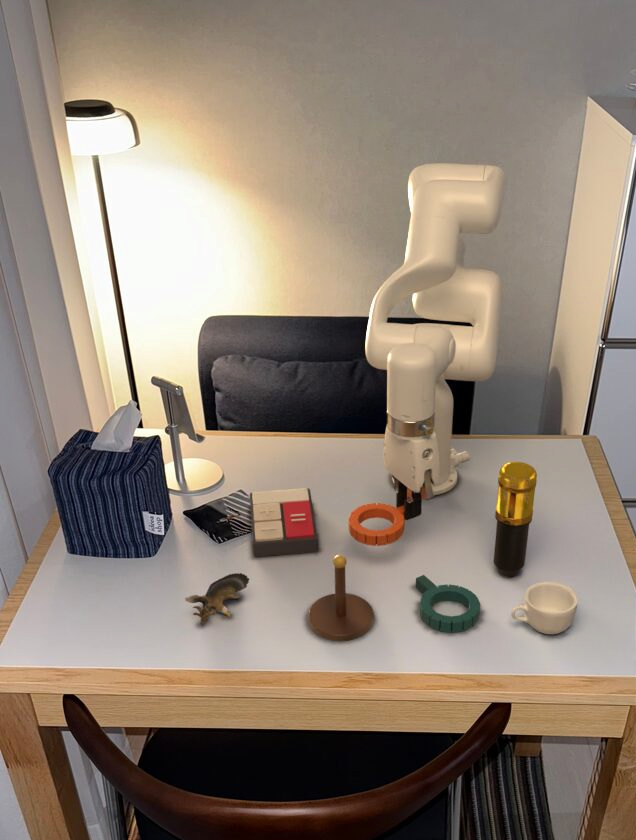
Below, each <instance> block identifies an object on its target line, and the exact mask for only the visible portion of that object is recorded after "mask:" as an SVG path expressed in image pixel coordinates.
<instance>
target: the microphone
mask: <svg viewBox="0 0 636 840" xmlns="http://www.w3.org/2000/svg"><path fill="white" fill-rule="evenodd" d="M537 478H538V473H537V470H536V469H535V468H534V466H532V465H531V464H528V463H526V462H521V461H511V462H508V463H505V464H503V465H502V466H501V467H500V469H499V474H498V481H497V483H498V488H497V489H498V490H497V499H496V506H495V514H494V518H495V520H496V529H495V539H494V550H493V551H494V552H493V564H494V567H496V570H497V571H498V573H499V574H500V576H503V577H505V578H513V577H515V576H516V575H518V573H519V572H520V571H522V569H523V568H524V567H525V565H526V558H527V557H526V556H527V547H528V539H529V538H528V537H529V529H530V524H531V523H532V521H533V517H534V503H535V492H536V487H537Z"/></svg>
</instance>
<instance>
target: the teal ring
mask: <svg viewBox="0 0 636 840" xmlns="http://www.w3.org/2000/svg"><path fill="white" fill-rule="evenodd" d="M415 589H416V590H418V592H420V593H421V594H422V595H421V597H420V601H419V616H420V618H421V620H422V621H423V623H425V625H427V626H428V627H429V628H431V629H432V630H436V631H438V632H439V631H440V633H441V632H442V633H446V634H447V633H449V634H451V633H452V634H456V633H462V632H465V631H467V630H469V629H471V628H472V627H474V626H475V625H476V624H477V623H478V621H479V619H480V610H481V602H480V600H479V597H478V596H477V595H476V594H475V593H474V592H473V591H472V590H469V589H468V588H465V586H459V585H458V584H457V585H455V584H440V585H436V584H435V583H434V582H433V581H431V580H430V579H429V578H428V577H427V576H426V575H425V574H422V575H420V576H418V577H416V578H415ZM445 601H451V602H456V603H459V604H460V605H463V606H464V608H466V611H465V612H463V613H462V614H457V615H447V614H442V613H439V612H438V611H436V610H435V609H434V608H433V607H434V605H435V604H438V603H440V602H445Z"/></svg>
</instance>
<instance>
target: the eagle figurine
mask: <svg viewBox="0 0 636 840" xmlns="http://www.w3.org/2000/svg"><path fill="white" fill-rule="evenodd" d="M249 582H250V578H249V577H248V575H245V574H244V573H243V572H235V573H230V574H228V575H227V574H226V575H225V576H222V577H221V578H219V579H217V580H215V581H214V582H212V583H211V584H209V587H208V588H207V591H206V593H205V594H204V595H198V594H192V595H189V596H186V597H185V598H184V600H185V602H187V603H189V604H197V603H201V604H202V607H201V606H199V605H195V606H192V608H193V609H196V610H197V611H198V612H192V614H193V616H197V617H199V618H200V626H203V625H204V624H205V623H206V622H207V621H208V620H209V617H211V616H215V615H216V614H217V612H219V613H222V614H223V615H226V616H227V617H228V618H230V617H231V614H230V610H229V609H228V608H227V607H226V606H225V605H224V604H223V602H224V601H225V600H226V601H227V600H234V599H235V600H236V599H240V595H239V594H238V593H237V592H240V591H242V590H245V589H246V588H247V587H248V584H249ZM211 610H212V611H211Z"/></svg>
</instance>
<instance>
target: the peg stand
mask: <svg viewBox="0 0 636 840" xmlns="http://www.w3.org/2000/svg"><path fill="white" fill-rule="evenodd" d="M332 564H333V566H334V593H330V594H327V595H324V596H322V597H320V598H318V599H317V600H316V601H314V603H312V604H311V606H310V608H309V611H308V624H309V627H310V628H311V630H312V632H314V633H315V634H316V635H318V636H319V637H321V638H323V639H325V640H329V641H335V642H346V641H351V640H355V639H357V638H360V637H362V636H364V635H365V634H366V633H368V631H369V630H370V629H371V628H372V626H373V623H374V610H373V607H372V605H371V604H370V603H369V602H368V601H367V600H366V599H365V598H363V597H361V596H359V595H357V594H353V593H347V591H346V590H347V589H346V565H347V558H346V557H345V556H344V555H342V554H338V555H336V556H334V557H333V560H332Z"/></svg>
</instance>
